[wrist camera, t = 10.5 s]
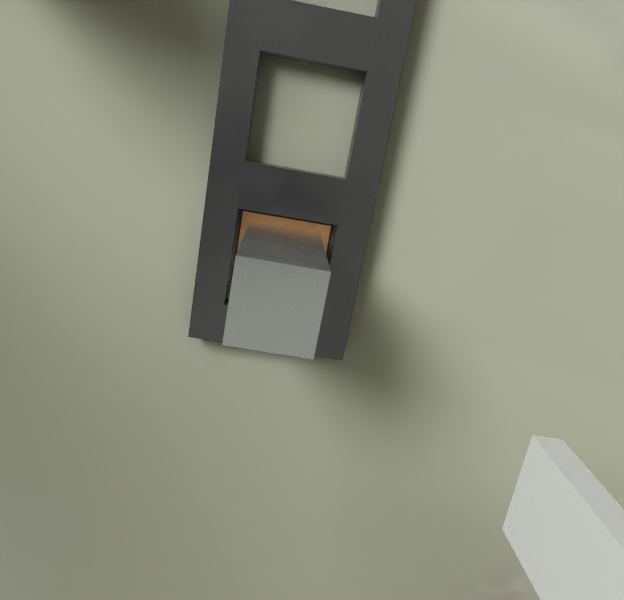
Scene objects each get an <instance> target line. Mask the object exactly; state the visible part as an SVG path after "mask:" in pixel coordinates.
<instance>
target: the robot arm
mask: <svg viewBox="0 0 624 600" xmlns="http://www.w3.org/2000/svg"><path fill="white" fill-rule="evenodd" d="M502 529H503V531H504V533H505V535H506V537H507V539H508V541H509V542H510V544H511V546H512V548H513V550H514V552H515V554H516V555H517V557H518V559H519V561H520V563H521V565H522V567H523V568H524V570H525V572H526V574H527V576H528V578H529V580H530V581H531V583H532V585H533V587H534V589H535V591H536V593H537V595H538V596H539V598H540V600H624V510H623V508H622V507H621V506H620V505H619V504H618V503H617V502H616V500H615V499H614V498H613V497H612V496H611V495H610V494H609V492H608V491H607V490H606V489H605V488H604V487H603V486H602V484H601V483H600V482H599V481H598V480H597V479H596V478H595V477H594V475H593V474H592V473H591V472H590V471H589V470H588V469H587V467H586V466H585V465H584V464H583V463H582V462H581V461H580V459H579V458H578V457H577V456H576V455H575V454H574V453H573V452H572V450H571V449H570V448H569V447H568V446H567V445H566V444H565V442H564V441H563V440H562V439H556V438H548V437H541V436H534V435H532V438H531V441H530V444H529V447H528V450H527V453H526V457H525V460H524V463H523V466H522V469H521V472H520V475H519V478H518V481H517V485H516V488H515V491H514V494H513V497H512V500H511V503H510V506H509V509H508V513H507V516H506V519H505V522H504V525H503V528H502Z"/></svg>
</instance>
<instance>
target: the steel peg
mask: <svg viewBox="0 0 624 600" xmlns="http://www.w3.org/2000/svg"><path fill="white" fill-rule="evenodd" d="M330 275H331V270H330V266H329V263H328V259H327V255H326V252H325V248H324V245H323V241H322V238H321V234H320V233H315V232H309V231H303V230H298V229H292V228H287V227H281V226H275V225H270V224H264V223H258V222H253V221H250V223H249V225H248V227H247V230H246V232H245V234H244V237H243V239H242V241H241V244H240V246H239V249H238V251H237V253H236V256H235V263H234V269H233V276H232V283H231V289H230V296H229V303H228V309H227V316H226V322H225V329H224V336H223V342H222V345H224V346H230V347H237V348H243V349H249V350H256V351H262V352H268V353H275V354H281V355H287V356H294V357H300V358H306V359H313V360H314V355H315V350H316V345H317V340H318V335H319V330H320V325H321V320H322V315H323V310H324V305H325V300H326V295H327V290H328V285H329V280H330Z"/></svg>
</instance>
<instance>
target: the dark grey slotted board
mask: <svg viewBox="0 0 624 600" xmlns="http://www.w3.org/2000/svg"><path fill="white" fill-rule="evenodd" d="M416 1H417V0H378V3H377V9H376V14H375V17H370V16H365V15H360V14H355V13H351V12H346V11H341V10H336V9H331V8H326V7H321V6H316V5H311V4H307V3H302V2H297V1H292V0H230V7H229V15H228V23H227V31H226V39H225V47H224V55H223V63H222V71H221V79H220V87H219V95H218V103H217V111H216V119H215V127H214V135H213V143H212V151H211V159H210V167H209V175H208V183H207V191H206V199H205V207H204V216H203V224H202V232H201V240H200V248H199V256H198V264H197V272H196V280H195V288H194V296H193V304H192V312H191V320H190V328H189V336H188V337H194V338H200V339H207V340H214V341H220V342H223V336H224V329H225V322H226V316H227V309H228V303H229V299H227V298H226V297H227V290H228V283H229V276H230V269H231V261H232V254H233V247H234V240H235V233H236V226H237V219H238V212H239V209H245V210H251V211H257V212H262V213H268V214H274V215H280V216H286V217H291V218H297V219H303V220H309V221H315V222H321V223H326V224H332V225H335V230H334V235H333V240H332V245H331V251H330V256H329V261H328V263H329V266H330V270H331V275H330V280H329V285H328V290H327V295H326V300H325V305H324V310H323V315H322V320H321V325H320V330H319V335H318V340H317V345H316V350H315V355H314V356H319V357H326V358H332V359H339V360H342V358H343V353H344V348H345V344H346V339H347V334H348V329H349V324H350V319H351V315H352V310H353V305H354V300H355V295H356V291H357V286H358V281H359V276H360V271H361V266H362V262H363V257H364V252H365V247H366V242H367V237H368V233H369V228H370V223H371V218H372V213H373V208H374V204H375V199H376V194H377V189H378V184H379V179H380V175H381V170H382V165H383V160H384V155H385V150H386V146H387V141H388V136H389V131H390V126H391V122H392V117H393V112H394V107H395V102H396V97H397V93H398V88H399V83H400V78H401V73H402V68H403V64H404V59H405V54H406V49H407V44H408V39H409V35H410V30H411V25H412V20H413V15H414V10H415V6H416ZM261 53H263V54H269V55H274V56H279V57H284V58H289V59H294V60H299V61H304V62H309V63H315V64H320V65H325V66H330V67H335V68H340V69H345V70H350V71H356V72H361V73H364V77H363V82H362V88H361V93H360V98H359V103H358V109H357V114H356V119H355V124H354V130H353V135H352V140H351V146H350V151H349V156H348V161H347V167H346V172H345V177H344V178H343V177H338V176H332V175H327V174H321V173H315V172H310V171H304V170H299V169H293V168H287V167H282V166H276V165H271V164H265V163H260V162H254V161H248V160H246V156H247V149H248V141H249V134H250V127H251V120H252V113H253V106H254V99H255V92H256V85H257V78H258V71H259V64H260V57H261ZM250 221H253V222H258V223H264V224H270V225H275V226H281V227H287V228H292V229H298V230H303V231H309V232H315V233H320V234H321V238H322V241H323V245H324V248H325V252H326V250H327V245H328V240H329V234H330V229H331V225H325V224H319V223H313V222H307V221H301V220H296V219H290V218H284V217H278V216H272V215H266V214H261V213H255V212H249V211H243V214H242V221H241V228H240V235H239V242H238V249H239V246H240V244H241V241H242V239H243V237H244V234H245V232H246V230H247V227H248V225H249V223H250ZM238 249H237V251H238Z"/></svg>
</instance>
